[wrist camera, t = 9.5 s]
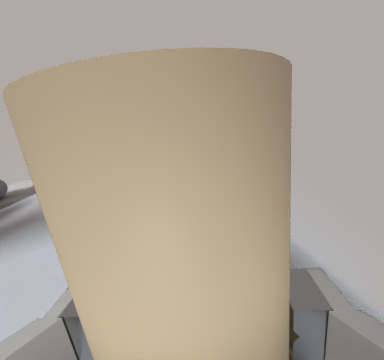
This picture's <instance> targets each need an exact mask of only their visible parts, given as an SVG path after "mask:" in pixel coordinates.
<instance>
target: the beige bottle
mask: <svg viewBox="0 0 384 360" xmlns="http://www.w3.org/2000/svg"><path fill="white" fill-rule="evenodd" d="M291 80H292V65H291V63H290V61H289V60H287V59H285V58H284V57H282V56H279V55H276V54H273V53H268V52H263V51H257V50H248V49H236V48H180V49H162V50H151V51H141V52H130V53H123V54H116V55H109V56H102V57H96V58H91V59H85V60H80V61H75V62H70V63H65V64H62V65H58V66H54V67H51V68H47V69H43V70H40V71H37V72H34V73H31V74H29V75H26V76H23V77H21V78H19V79H17V80H15V81H14V82H12V83H10V84H8V86H7V87H6V88H5V89H4V90H3V98H4V101H5V104H6V107H7V110H8V113H9V115H10V119H11V121H12V124H13V127H14V130H15V133H16V136H17V139H18V142H19V145H20V147H21V151H22V153H23V156H24V159H25V162H26V165H27V168H28V171H29V174H30V177H31V180H32V182H33V185H34V188H35V191H36V194H37V197H38V200H39V203H40V206H41V209H42V211H43V214H44V217H45V220H46V223H47V226H48V229H49V232H50V235H51V237H52V240H53V243H54V246H55V249H56V252H57V255H58V258H59V261H60V264H61V266H62V269H63V272H64V275H65V278H66V281H67V284H68V287H69V290H70V293H71V295H72V298H73V301H74V304H75V307H76V310H77V313H78V316H79V319H80V322H81V324H82V327H83V330H84V333H85V336H86V339H87V342H88V345H89V348H90V351H91V353H92V356H93V359H94V360H289V306H290V195H291V89H292V88H291V87H292V83H291V82H292V81H291Z"/></svg>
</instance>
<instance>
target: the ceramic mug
mask: <svg viewBox="0 0 384 360" xmlns="http://www.w3.org/2000/svg"><path fill="white" fill-rule="evenodd" d="M7 189H8V188H7V185H6V184H5V182H3V181H2V180H0V198H1V197H2V196H4V195H5V194H6V192H7Z"/></svg>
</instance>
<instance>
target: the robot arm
mask: <svg viewBox="0 0 384 360" xmlns="http://www.w3.org/2000/svg"><path fill="white" fill-rule="evenodd" d="M289 351H290V354H291V356H292V359H293V360H384V324H383V323H382V322H380V321H378V320H377V319H375V318H373V317H372V316H370V315H368V314H366V313H365V312H363V311H361V310H355V309H354V308H353V307H352V305H351V304H350V303H349V302H348V300H347V299H346V298H345V297H344V295H343V294H342V293H341V292H340V290H339V289H338V288H337V287H336V285H335V284H334V283H333V282H332V280H331V279H330V278H329V277H328V275H327V274H326V273H325V272H324V270H323V269H321V268H306V269H294V270H290V306H289ZM0 360H94V359H93V356H92V353H91V351H90V348H89V345H88V342H87V339H86V336H85V333H84V330H83V327H82V324H81V322H80V319H79V316H78V313H77V310H76V307H75V304H74V301H73V298H72V295H71V293H70V290H69V288H68V289H67V290H66V291H65V292H64V293H63V295H62V296H61V297H60V298H59V299H58V300H57V302H56V303H55V304H54V305H53V306H52V307H51V309H50V310H49V311H48V312H47V313H46V314H45V316H44V317H43V318H38V319H36V320H35V321H33V322H32V323H30V324H28V325H27V326H25V327H24V328H22V329H21V330H19V331H18V332H16V333H15V334H13V335H11V336H10V337H8V338H7V339H5V340H4V341H2V342H1V343H0Z"/></svg>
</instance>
